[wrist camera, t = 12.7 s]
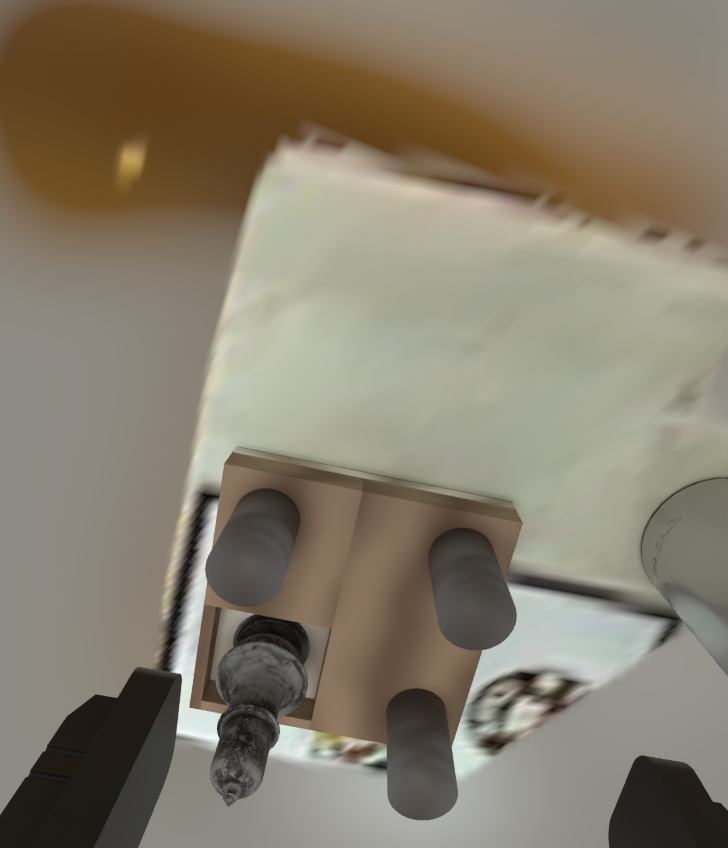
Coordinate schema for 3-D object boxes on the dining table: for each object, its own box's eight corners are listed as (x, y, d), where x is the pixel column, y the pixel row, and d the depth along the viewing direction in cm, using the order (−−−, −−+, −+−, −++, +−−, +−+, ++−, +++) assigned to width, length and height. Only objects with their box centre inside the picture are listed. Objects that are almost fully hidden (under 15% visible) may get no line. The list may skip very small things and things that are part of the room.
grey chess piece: (325, 624, 39) (303, 780, 28) (298, 690, 41) (267, 863, 29) (242, 596, 39) (185, 743, 27) (218, 664, 40) (155, 830, 29)
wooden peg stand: (511, 502, 37) (551, 578, 29) (444, 721, 43) (460, 840, 34) (236, 446, 37) (192, 507, 28) (202, 676, 42) (156, 786, 33)
